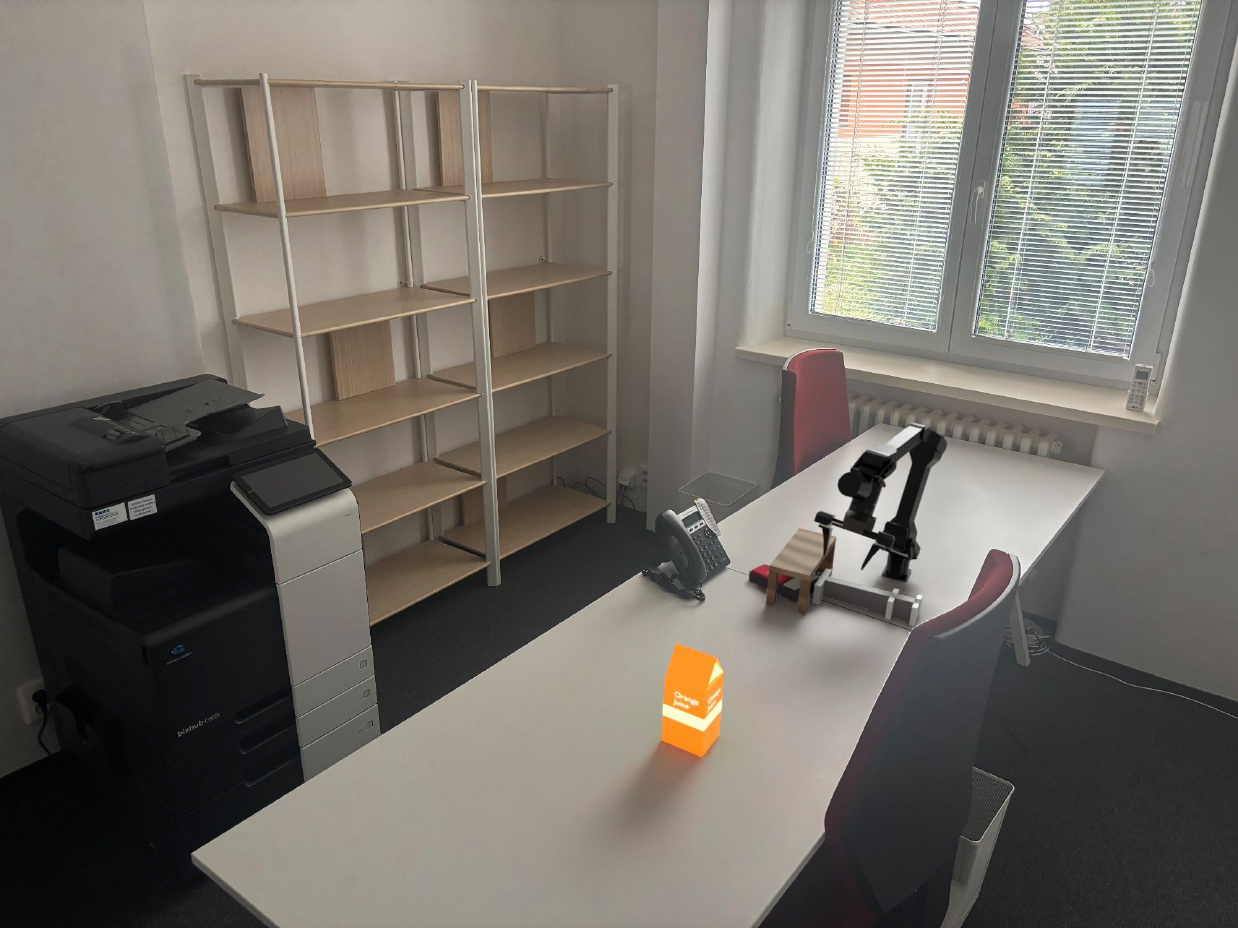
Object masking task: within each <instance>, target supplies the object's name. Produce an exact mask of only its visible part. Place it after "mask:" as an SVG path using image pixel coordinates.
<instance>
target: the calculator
mask: <svg viewBox="0 0 1238 928" xmlns="http://www.w3.org/2000/svg"><path fill="white" fill-rule="evenodd" d="M774 559H775V558H773V559H771V560H770V561H767V562H766V563H764V564H761V565H759V566H757V567H754V568H752V569H751V570H749V573H748V582H750V583H752V584H754V585H757V586H758V587H761V589H765V590H767V586H768V575H769V565H770V564H771V563H772V562H773V560H774ZM819 578H820V576H819V575H817V574H815V573H814V574H813V576H812V577H811V585H810V593H809V596H810V595H814V586H815V584H816V582H817V581H818V579H819ZM800 581H801V579H799V578H795V577H791V576H787V575H783V574H779V579H778V589H777V596H780V597H781V598H782V599H785V600H787V601H789V602H791V603H794V604H797V603H798V600H799V590H800Z"/></svg>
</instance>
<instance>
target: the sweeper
mask: <svg viewBox="0 0 1238 928" xmlns="http://www.w3.org/2000/svg"><path fill="white" fill-rule="evenodd" d="M831 573H832V574H833V569H832V570H831V569H827V568H826V569H825V571H824V572H823V574H821V575H820V576H819V577H820V578H819V579H818V581H817V582H816V584H815V586H814V593H813V594H812V596H813V597H812V603H814V604H818V605H819V604H820V602H821V601H822V599H823V598H824V599H828V600H830V601H835V602H838V603H843V604H847V605H851V606H854V607H859V608H862V609H866V610H869V611H873V612H877V613H881V614H883V615H884V616H885V617H884V619H885V620H888V621H890V620H891V619H892V617H894V618H895V617H896V618H900V619H901V620H902V619H903V620H907V621H909V624H908V626H910V627H915V626H916V624H915V623H917V621H918V618H919V616H920V614H921V609H922V603H923V598H924V595H922V594H917V596H916V597H912V596H908V595H903V594H900V589H899V588H896V587H895V588H893V590H892V591H889V590H885V589H880V588H877V587H876V588H875V587H873V586H868V585H865V584H860V583H857V582H853V581H849V580H845V579H841V578H838V577H834V576H832V574H831ZM911 625H913V626H911Z"/></svg>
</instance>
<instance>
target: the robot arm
mask: <svg viewBox="0 0 1238 928" xmlns="http://www.w3.org/2000/svg"><path fill="white" fill-rule="evenodd" d="M947 446H948V442H947V440H946V439H945V436H944V435H943V434H939V433H937V432H935V431H933V430H932V429H931V428H930V427H929V426H928V425H924V424H921V423H917V422H909V423H908V424H907V425H906V426H905V428H904V429H902V430H901V431H900V432H899V433H898V434H896V435H895V436H893V438H891V439H890V440H889V441H887V442H886V443H884V444H878V445H877V444H876V445H872V446H871V447H869V448H867V449H866V450H865V451H864V452H863V453H861V455H860V456H859V457H858V459H857V460H856V461H855V462H854V463H853V465H852V466H851V468H850V469H849V472H845V473H843V474H842V475H840V477H839V478H838V481H837V489H838V491H839V493H840V494H841V495H843V496H844V497H847V498H851V501H850V504H849V507H848V509H847V510H846V511H845V513H844V517H843V519H842V520H841V519H837V518H836V515H834V514H832V513H829V512H826V511H824V510H820V511H818V512H816V514H815V516H814V519H813V522H815V523H818V526H817V527H818V528H821V530H822V531H821V532H822V534H823V556H824V557H825V556H826V553H827V550H828V546H829V542H830V538H831V536H832V533H833V526H834V527H836V528H840V529H842V530H845V531H848V532H850V533H854V534H856V535H860V536H863V537H866V538H868V539H871V540H874V543H872V544H871V546H870V549H869V550H868V552H867V554H866V557H865V558H864V560H863V562H862V564H861V568H860V570H861V571H863V570H864V569H865V568H866V566H867V565H868V564H869V563H870V561H871V560H872V558H873V557H874V556H875V555H876V554H877V553H878V552H879V551H880V550H881V551H884V552H886V553H887V558H886V565H885V567H884V569H883V570H882V572H881V576H884V577H888V578H891V579H896V580H899V581H900V580H901V581H904V582H907V581H908V579H909V577H910V575H911V573H912V569H911V568H910V563H911V561H913V560H915V561H916V560H917V559H918V557H919V555H920V553H921V552H920V551H921V546H920V545H919V543H918V541H917V535H918V529H917V526H916V523H915V520H916V516H917V514H918V510H919V507H920V504H921V501H922V497H923V494H924V491H925V489H926V485H927V482H928V479H929V475H930V472H931V470H932V468H933V467H934V466H936V464H937V463H939V462H940V461H941V459H942V457H943V454H944V453H945V451H946V450H947ZM908 453H909V457H910V462H911V465H910V469H909V471H908V475H907V478H906V482H905V485H904V488H903V492H902V494H901V497H900V501H899V503H898V507H897V509H896V514H895V516H894V517H893V518H892V519H890V521H889V520H888V521H886V522H885V523H884V528H883V530H882V531H881V530H879V531H878V532H875V531H873V530H874V528H875V525H876V522H877V519H878V518H877V517H875V516H873V515H874V512H875V509H876V507H877V505H878V501H879V498H880V495H881V492H882V490H883V488H886V487H887V484H886V482H885V480H887V478H888V477H890V476H891V475H892V474H894V472H895V471H896V469H897V466H898V465H897V464H898V461H900V459H902V458H903V457H905V455H907V454H908Z"/></svg>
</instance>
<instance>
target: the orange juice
mask: <svg viewBox="0 0 1238 928" xmlns="http://www.w3.org/2000/svg"><path fill="white" fill-rule="evenodd" d="M724 676H725V672H724V670H723V668H722V665H721V664H720V661H719V660H718V657H716V656H712V655H710V654H708V653H705V652H702V651H700V650H696V649H693V648H691V647H688V646H685V645H682V644H679V643H677V642H675V645H674V648H673V651H672V654H671V658H670V660H669V664H668V667H667V670H666V673H665V676H664V683H663V700H662V701H663V704H662V723H661V725H662V726H661V727H662V728H661V741H662V742H665V743H668V744H670V745H672V746H674V747H677V748H679V749H681V750H684V751H687V752H689V753H691V754H693V755H696V756H698V757H700V758H702V757H703V756H704V755H705V754H706V753H707V751H708V750H709V749H710V747H711V746H712V745H713V744H714V742H716V740H717V739H718V737H719V736H720V729H721V716H722V708H723V707H722V706H723V691H724V689H723V688H724V678H725V677H724Z"/></svg>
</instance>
